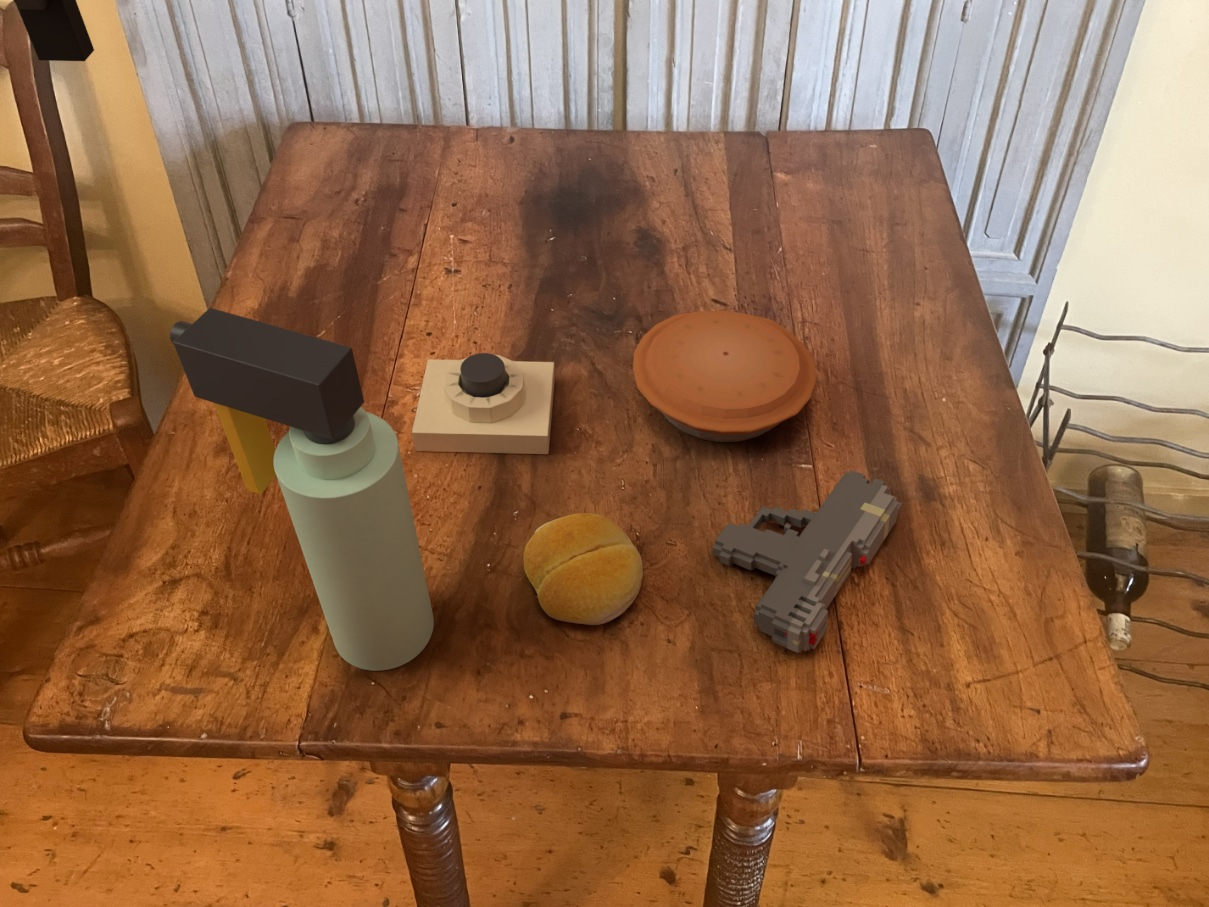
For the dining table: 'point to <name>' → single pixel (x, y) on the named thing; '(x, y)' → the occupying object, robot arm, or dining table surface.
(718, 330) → the pie
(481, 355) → the timer button
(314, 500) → the spray bottle
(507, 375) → the timer
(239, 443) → the strip
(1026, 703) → the dining table surface
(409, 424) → the dining table surface
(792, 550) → the toy gun
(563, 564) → the bread roll
